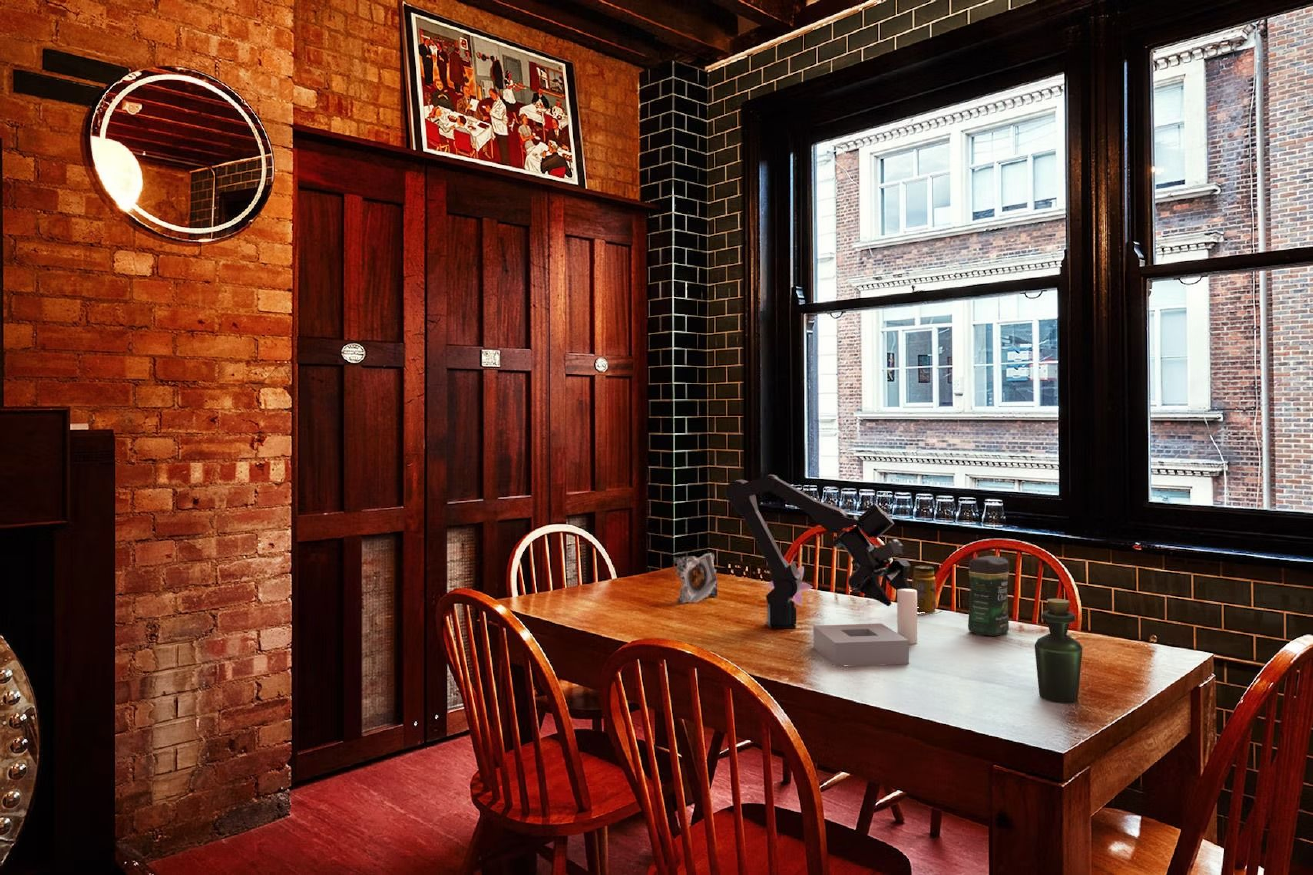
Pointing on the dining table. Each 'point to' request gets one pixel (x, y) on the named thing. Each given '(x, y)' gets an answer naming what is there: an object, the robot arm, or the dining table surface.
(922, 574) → the condiment
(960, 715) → the dining table surface
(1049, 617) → the potion bottle
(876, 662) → the well block
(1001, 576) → the coffee jar
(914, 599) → the pink cylinder peg
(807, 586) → the lily
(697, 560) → the ornate square frame
